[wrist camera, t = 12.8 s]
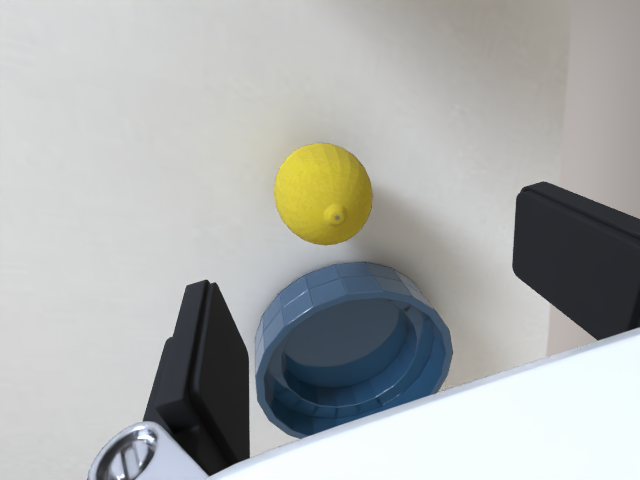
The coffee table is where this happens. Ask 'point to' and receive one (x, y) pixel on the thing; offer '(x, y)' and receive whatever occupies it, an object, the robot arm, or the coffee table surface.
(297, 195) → the lemon
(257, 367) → the bowl
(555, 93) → the coffee table surface
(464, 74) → the coffee table surface
